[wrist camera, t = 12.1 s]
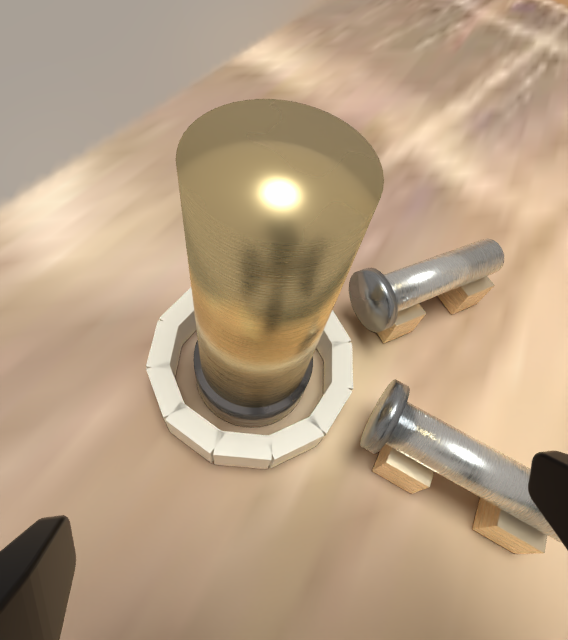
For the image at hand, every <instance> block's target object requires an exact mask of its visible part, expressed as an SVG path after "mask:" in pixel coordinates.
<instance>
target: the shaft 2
mask: <svg viewBox="0 0 568 640" xmlns="http://www.w3.org/2000/svg"><path fill="white" fill-rule="evenodd" d="M409 391H410V388H409V386H407V385H405V384H403V383H401V382H399V381H397V380H393V381H392V382H391V383H390V384H389V385H388V387H387V388H386V389H385V391H384V392H383V394H382V396H381V397H380V399H379V401H378V402H377V404H376V406H375V408H374V410H373V412H372V413H371V415H370V418H369V420H368V422H367V424H366V426H365V429H364V432H363V434H362V437H361V441H360V446H361V447H363V448H365V449H367V450H368V451H370V452H372V453H374V454H376V453H377V452H379V451H380V452H379V455H378V457H377V460H376V462H375V465H374V467H373V470H372V471H373V472H374V473H376V474H378V475H379V476H381V477H383V478H385V479H386V480H388V481H390V482H391V483H393V484H395V485H397V486H398V487H400V488H402V489H404V490H405V491H407V492H409V493H410V494H412V493H415V492H417V491H420V490H423V489H426V488H428V487H430V484H431V481H432V478H433V474H434V471H435V472H436V473H438V474H440V475H442V476H443V477H445V478H447V479H449V480H450V481H452V482H454V483H456V484H458V485H459V486H461V487H463V488H465V489H466V490H468V491H470V492H472V493H473V494H475V495H477V496H479V497H480V500H479V504H478V508H477V512H476V515H475V519H474V523H473V527H472V530H474V531H476V532H478V533H479V534H481V535H483V536H485V537H486V538H488V539H490V540H491V541H493V542H495V543H497V544H498V545H500V546H502V547H503V548H505V549H507V550H509V551H510V552H512V553H514V554H529V553H545V547H546V541H547V535H548V536H549V537H551V538H553V539H555V540H556V541H559V542H562V541H561V540H560V539H559V537H558V536H557V534H556V533H555V532H554V530H553V529H552V527H551V526H550V525H549V523H548V522H547V520H546V519H545V518H544V516H543V515H542V513H541V512H540V511H539V509H538V508H537V506H536V505H535V504H534V502H533V501H532V499H531V497H530V495H529V492H528V482H529V476H530V471H531V469H530V468H528V467H526V466H524V465H523V464H521V463H519V462H517V461H515V460H513V459H512V458H510V457H508V456H506V455H504V454H502V453H501V452H499V451H497V450H495V449H493V448H491V447H489V446H488V445H486V444H484V443H482V442H480V441H478V440H477V439H475V438H473V437H471V436H469V435H467V434H466V433H464V432H462V431H460V430H458V429H456V428H455V427H453V426H451V425H449V424H447V423H445V422H444V421H442V420H440V419H438V418H436V417H434V416H432V415H431V414H429V413H427V412H425V411H423V410H421V409H420V408H418V407H416V406H414V405H412V404H410V403H409V402H407V400H408V396H409Z"/></svg>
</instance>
